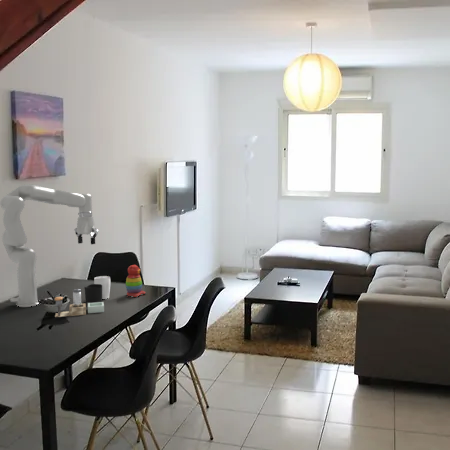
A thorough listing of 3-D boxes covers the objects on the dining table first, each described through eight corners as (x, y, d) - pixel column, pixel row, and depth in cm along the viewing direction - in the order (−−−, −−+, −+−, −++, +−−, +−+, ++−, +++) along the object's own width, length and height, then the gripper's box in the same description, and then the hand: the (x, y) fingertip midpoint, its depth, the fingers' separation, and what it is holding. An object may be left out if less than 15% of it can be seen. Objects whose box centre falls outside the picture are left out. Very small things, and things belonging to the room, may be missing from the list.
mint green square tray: (88, 314, 282) (87, 306, 282) (88, 310, 290) (87, 303, 289) (104, 313, 284) (103, 305, 283) (103, 309, 292) (103, 302, 291)
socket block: (54, 318, 276) (54, 306, 275) (56, 313, 285) (55, 302, 284) (86, 316, 279) (85, 304, 279) (86, 311, 288) (85, 300, 287)
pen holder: (83, 303, 306) (82, 285, 305) (100, 300, 310) (99, 283, 309) (87, 306, 298) (86, 288, 297) (104, 304, 302) (104, 286, 301)
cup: (112, 299, 313) (111, 278, 312) (96, 301, 310) (95, 279, 309) (109, 295, 322) (108, 275, 320) (93, 297, 318) (92, 276, 317)
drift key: (54, 307, 278) (54, 299, 277) (55, 305, 282) (54, 297, 281) (63, 306, 279) (62, 298, 278) (63, 304, 283) (63, 296, 282)
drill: (73, 314, 280) (72, 290, 279) (74, 312, 284) (72, 289, 283) (81, 313, 281) (80, 290, 280) (82, 311, 285) (80, 288, 284)
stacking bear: (136, 298, 315) (135, 267, 313) (122, 296, 319) (120, 266, 317) (147, 294, 324) (146, 264, 322) (133, 292, 329) (131, 262, 327)
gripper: (69, 215, 328) (71, 243, 330) (92, 215, 320) (93, 245, 322) (78, 213, 334) (79, 242, 336) (101, 214, 326) (102, 243, 328)
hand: (86, 243), depth 329 cm, fingers open, 9 cm apart
